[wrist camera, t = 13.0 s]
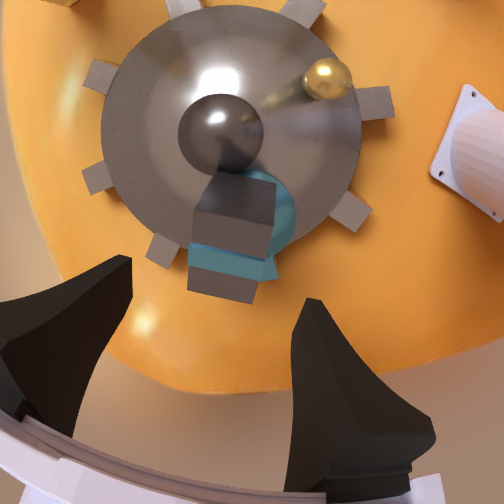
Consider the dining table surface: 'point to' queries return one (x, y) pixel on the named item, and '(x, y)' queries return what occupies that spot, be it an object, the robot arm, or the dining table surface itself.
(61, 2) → the candy box
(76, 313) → the robot arm
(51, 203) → the dining table surface
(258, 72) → the sprocket disc
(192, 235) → the marked link block
